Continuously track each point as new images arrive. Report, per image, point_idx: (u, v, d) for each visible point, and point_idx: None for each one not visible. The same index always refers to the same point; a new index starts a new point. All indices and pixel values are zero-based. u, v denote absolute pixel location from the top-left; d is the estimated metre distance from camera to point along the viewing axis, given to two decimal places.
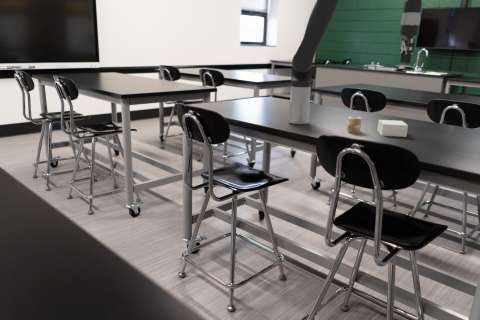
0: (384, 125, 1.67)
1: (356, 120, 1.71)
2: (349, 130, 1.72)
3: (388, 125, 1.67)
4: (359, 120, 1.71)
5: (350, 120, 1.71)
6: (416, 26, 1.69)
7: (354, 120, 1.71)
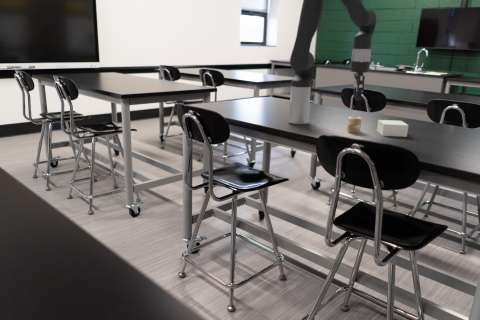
0: (385, 125, 1.67)
1: (356, 120, 1.71)
2: (349, 130, 1.72)
3: (389, 125, 1.67)
4: (359, 120, 1.71)
5: (350, 120, 1.71)
6: (366, 63, 1.63)
7: (354, 120, 1.71)
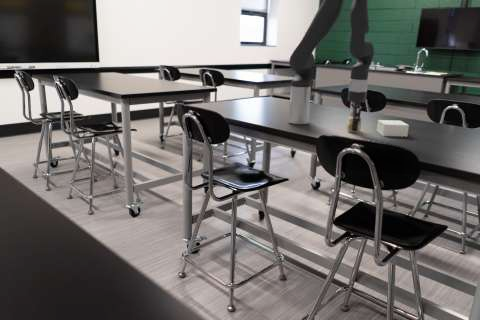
0: (385, 125, 1.67)
1: None
2: (349, 130, 1.72)
3: (389, 125, 1.67)
4: None
5: (350, 120, 1.71)
6: (363, 93, 1.67)
7: None
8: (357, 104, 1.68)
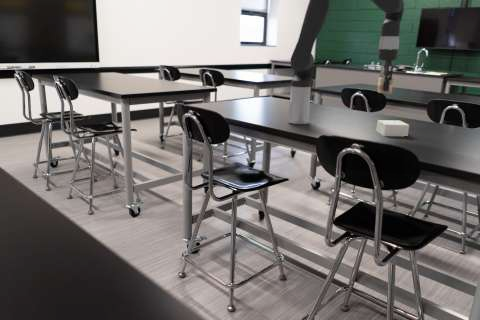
0: (386, 125, 1.67)
1: None
2: (380, 90, 1.66)
3: (390, 125, 1.67)
4: None
5: (381, 80, 1.64)
6: (395, 50, 1.60)
7: None
8: (389, 62, 1.61)
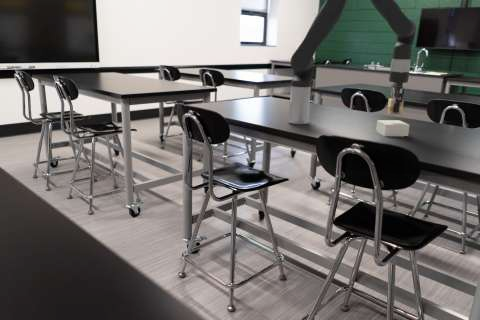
0: (387, 125, 1.66)
1: None
2: (390, 112, 1.68)
3: (391, 125, 1.66)
4: None
5: (392, 101, 1.67)
6: (406, 73, 1.62)
7: None
8: (400, 85, 1.63)
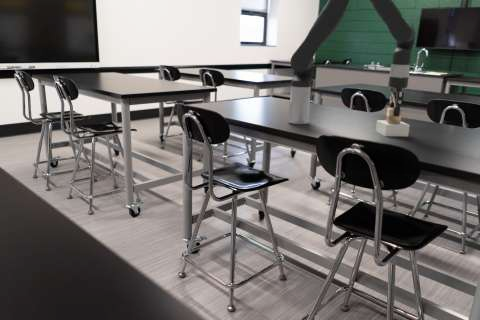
0: (387, 126, 1.66)
1: None
2: (389, 121, 1.69)
3: (391, 125, 1.66)
4: None
5: (390, 111, 1.68)
6: (405, 79, 1.63)
7: None
8: (399, 90, 1.64)
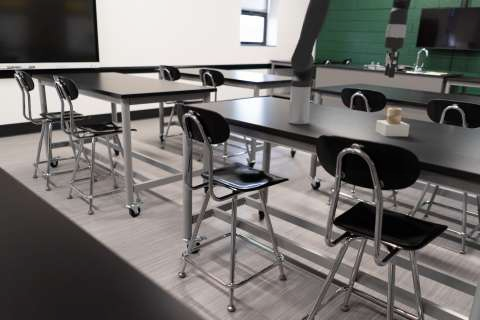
0: (387, 126, 1.66)
1: (396, 111, 1.67)
2: (389, 121, 1.69)
3: (391, 125, 1.66)
4: (400, 111, 1.67)
5: (390, 111, 1.68)
6: (401, 39, 1.61)
7: (394, 111, 1.67)
8: (394, 50, 1.62)
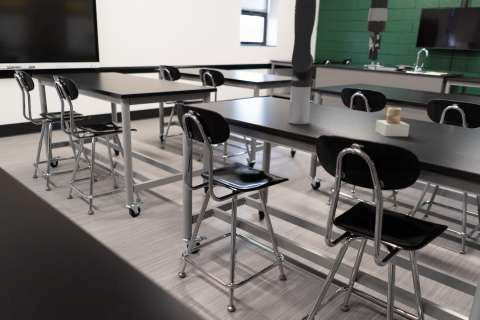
0: (387, 126, 1.66)
1: (396, 111, 1.67)
2: (388, 121, 1.69)
3: (391, 125, 1.66)
4: (399, 111, 1.67)
5: (389, 111, 1.68)
6: (383, 22, 1.65)
7: (394, 111, 1.67)
8: (377, 34, 1.66)
